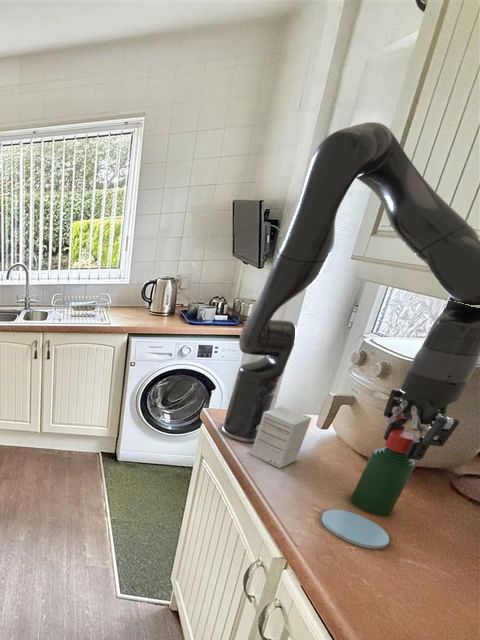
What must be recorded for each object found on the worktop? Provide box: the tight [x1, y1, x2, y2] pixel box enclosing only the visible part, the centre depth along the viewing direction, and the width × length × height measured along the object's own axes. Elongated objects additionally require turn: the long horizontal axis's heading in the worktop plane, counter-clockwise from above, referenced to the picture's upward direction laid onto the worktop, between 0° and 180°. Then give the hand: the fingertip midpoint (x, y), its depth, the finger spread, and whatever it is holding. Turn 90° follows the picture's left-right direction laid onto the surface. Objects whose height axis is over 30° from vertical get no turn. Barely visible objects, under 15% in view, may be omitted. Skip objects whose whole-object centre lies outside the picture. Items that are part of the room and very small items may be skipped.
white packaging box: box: [250, 405, 312, 469], centre depth 101 cm, size 7×7×13 cm
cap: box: [384, 430, 414, 454], centre depth 81 cm, size 4×4×3 cm
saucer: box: [321, 509, 390, 550], centre depth 80 cm, size 10×10×1 cm
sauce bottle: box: [350, 446, 416, 517], centre depth 84 cm, size 6×6×17 cm
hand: (401, 449), depth 81 cm, fingers open, 6 cm apart
